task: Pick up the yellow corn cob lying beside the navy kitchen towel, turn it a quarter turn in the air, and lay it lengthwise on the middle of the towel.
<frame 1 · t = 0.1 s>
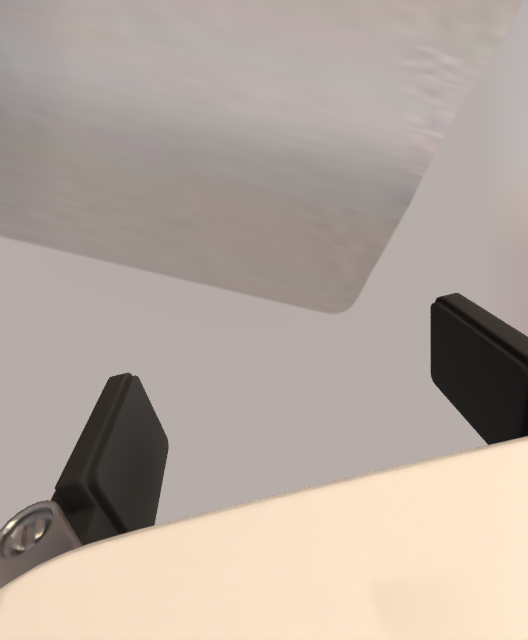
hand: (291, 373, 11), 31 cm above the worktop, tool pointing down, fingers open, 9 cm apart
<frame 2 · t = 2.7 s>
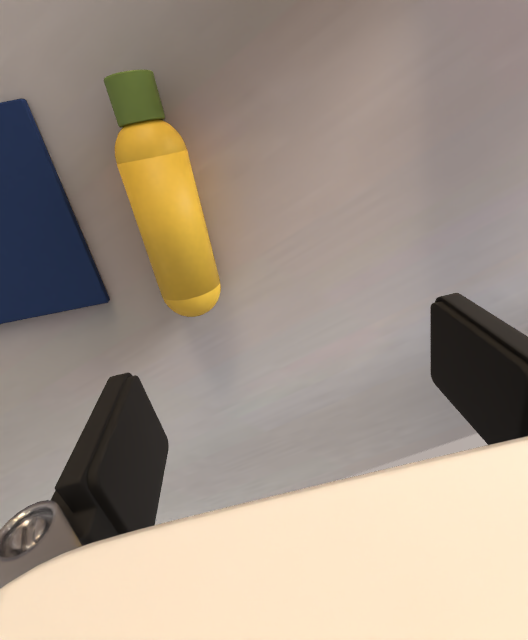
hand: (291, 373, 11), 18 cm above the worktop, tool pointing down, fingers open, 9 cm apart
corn: (177, 221, 26), on the worktop
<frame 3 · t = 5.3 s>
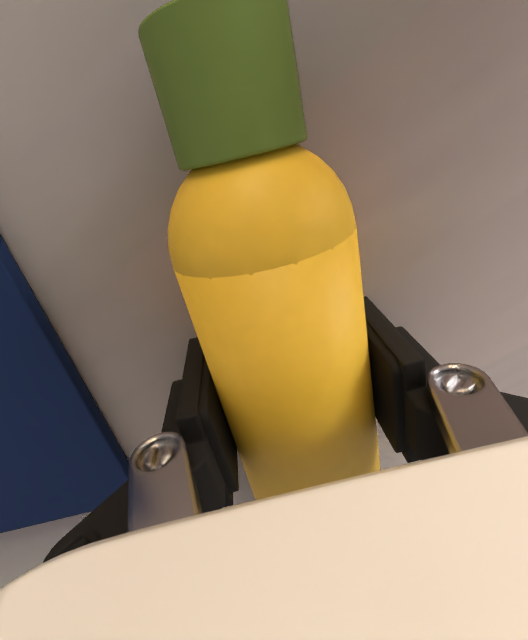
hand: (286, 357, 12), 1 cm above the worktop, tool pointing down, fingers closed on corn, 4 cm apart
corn: (284, 348, 12), on the worktop, touching gripper
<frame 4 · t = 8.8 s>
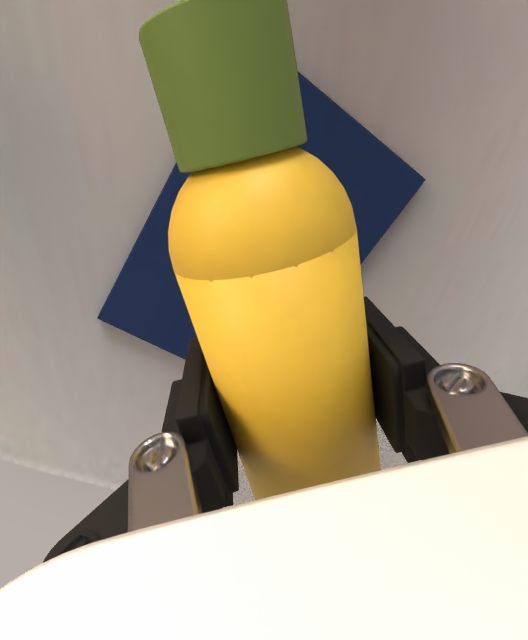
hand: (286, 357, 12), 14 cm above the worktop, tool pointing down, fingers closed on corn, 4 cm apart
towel: (254, 249, 25), on the worktop
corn: (284, 350, 13), point 14 cm above the worktop, touching gripper
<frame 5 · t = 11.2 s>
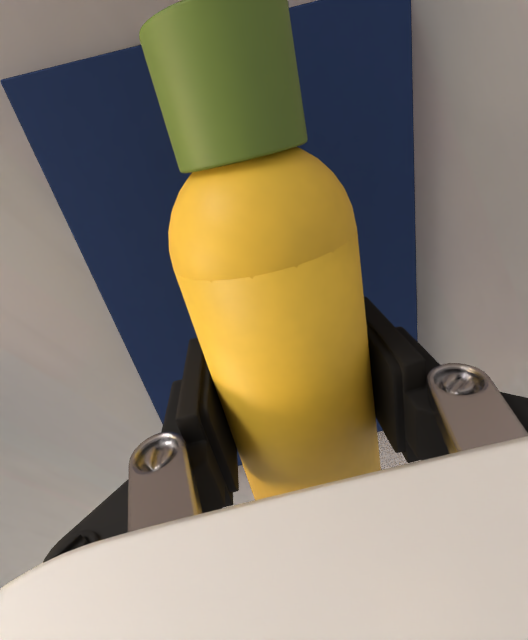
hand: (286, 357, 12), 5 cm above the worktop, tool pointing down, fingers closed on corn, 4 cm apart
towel: (266, 293, 17), on the worktop
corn: (284, 350, 12), point 5 cm above the worktop, touching gripper
when the fingers open (1 cm above the worktop, at t = 12.6 s): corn stays where it is, resting on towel.
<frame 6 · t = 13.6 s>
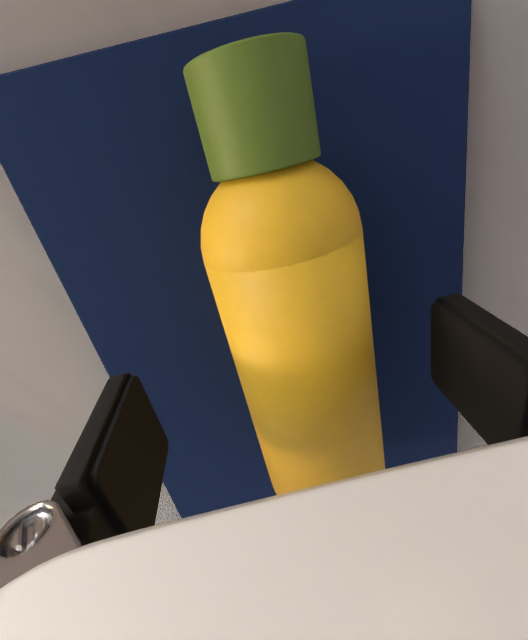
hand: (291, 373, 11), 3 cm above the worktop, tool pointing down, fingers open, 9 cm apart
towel: (283, 333, 14), on the worktop
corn: (287, 342, 14), point 1 cm above the worktop, tilted 9°, touching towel
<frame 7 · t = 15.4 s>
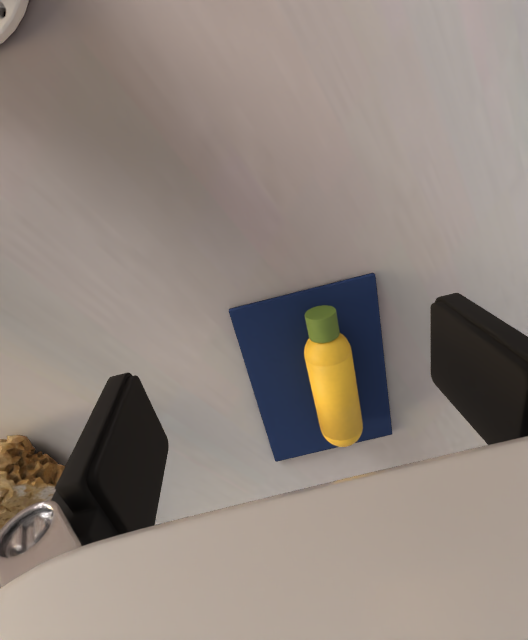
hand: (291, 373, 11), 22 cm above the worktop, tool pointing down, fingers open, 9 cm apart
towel: (318, 376, 38), on the worktop
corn: (320, 381, 37), point 1 cm above the worktop, tilted 27°, touching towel
sponge: (11, 492, 42), on the worktop
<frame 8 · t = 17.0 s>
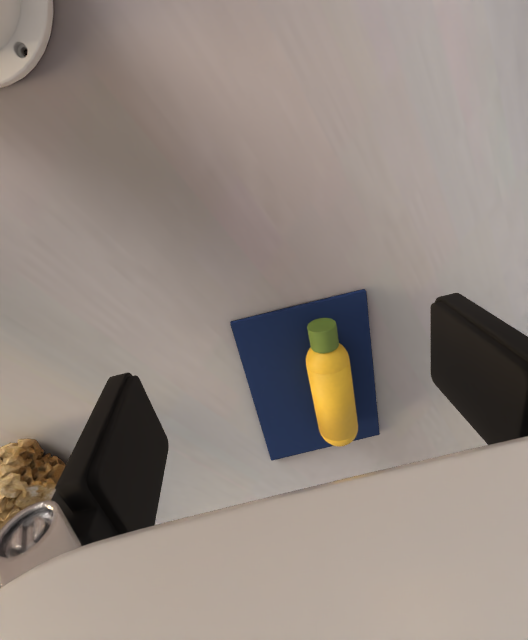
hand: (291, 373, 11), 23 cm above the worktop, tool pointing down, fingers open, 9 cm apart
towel: (312, 382, 40), on the worktop
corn: (316, 389, 39), point 1 cm above the worktop, tilted 42°, touching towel
sponge: (19, 492, 44), on the worktop
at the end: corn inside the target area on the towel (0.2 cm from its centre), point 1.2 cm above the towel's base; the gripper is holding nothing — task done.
